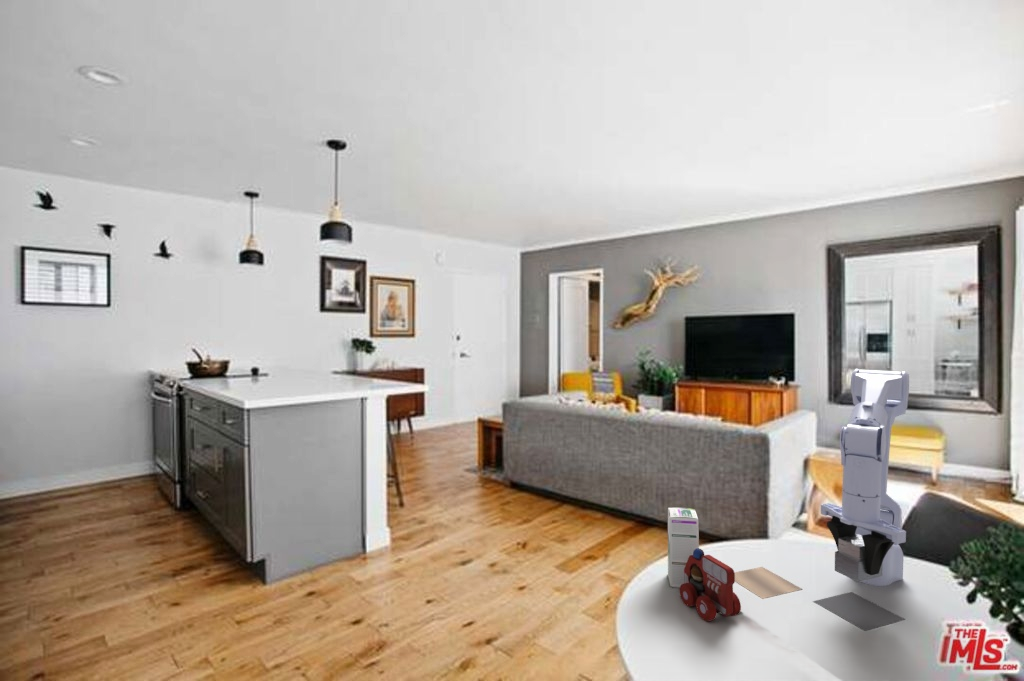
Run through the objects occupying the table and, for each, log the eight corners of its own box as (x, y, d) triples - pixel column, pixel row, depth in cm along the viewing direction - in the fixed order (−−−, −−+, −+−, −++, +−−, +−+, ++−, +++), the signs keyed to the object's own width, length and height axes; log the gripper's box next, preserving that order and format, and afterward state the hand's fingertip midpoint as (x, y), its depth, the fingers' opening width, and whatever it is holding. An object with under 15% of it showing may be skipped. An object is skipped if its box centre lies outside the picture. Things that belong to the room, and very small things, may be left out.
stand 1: (762, 573, 114) (762, 566, 114) (802, 596, 104) (802, 589, 104) (724, 581, 110) (724, 574, 110) (762, 606, 101) (762, 598, 101)
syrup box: (699, 590, 107) (700, 518, 106) (668, 587, 108) (669, 516, 107) (695, 576, 112) (696, 508, 112) (666, 573, 114) (667, 506, 113)
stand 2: (851, 599, 103) (851, 591, 103) (905, 627, 94) (905, 619, 94) (812, 609, 100) (812, 601, 100) (864, 639, 90) (864, 630, 90)
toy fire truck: (702, 589, 107) (703, 538, 107) (747, 623, 95) (748, 565, 95) (672, 595, 105) (673, 543, 104) (715, 630, 93) (716, 571, 93)
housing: (858, 565, 100) (858, 533, 99) (882, 576, 95) (883, 542, 95) (834, 570, 97) (835, 538, 97) (858, 582, 93) (858, 548, 93)
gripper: (809, 483, 101) (807, 553, 102) (886, 508, 88) (883, 590, 88) (836, 479, 104) (834, 548, 104) (915, 503, 90) (912, 582, 91)
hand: (859, 567), depth 96 cm, fingers closed on housing, 4 cm apart
